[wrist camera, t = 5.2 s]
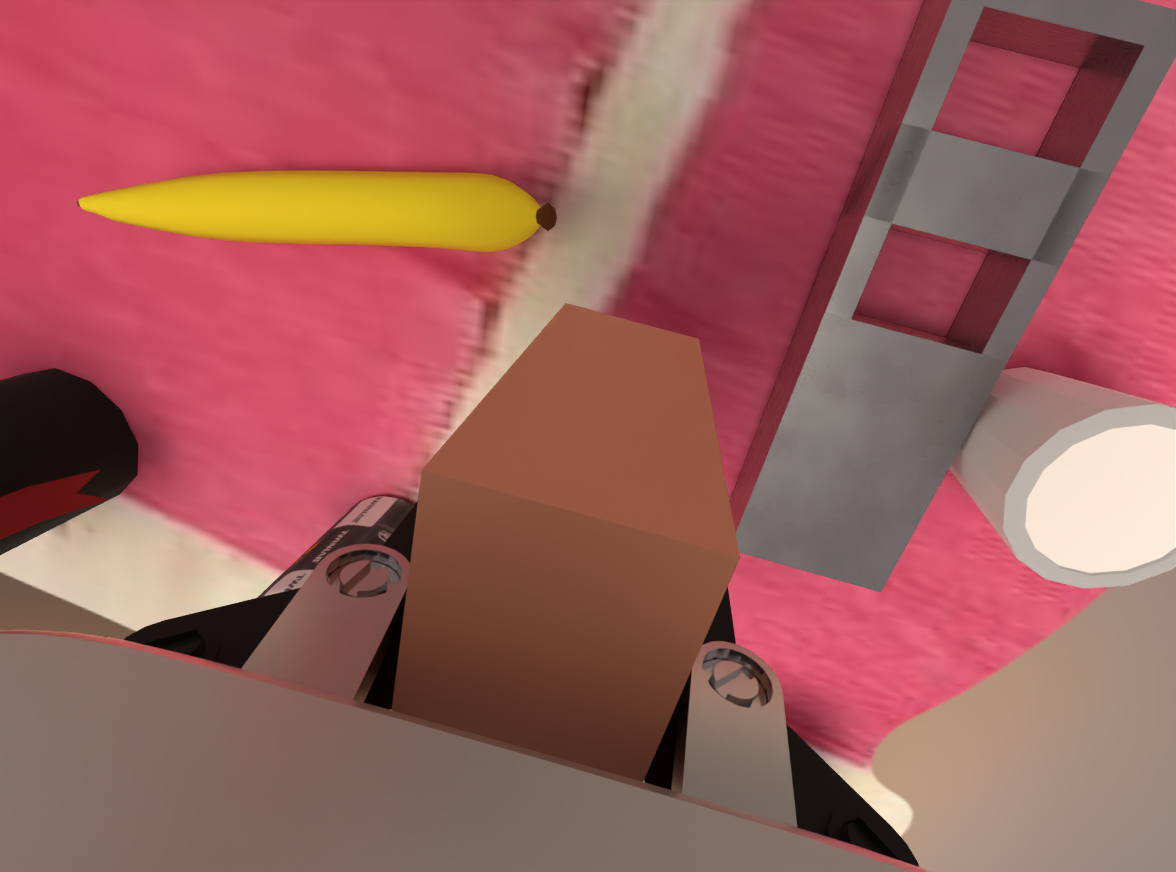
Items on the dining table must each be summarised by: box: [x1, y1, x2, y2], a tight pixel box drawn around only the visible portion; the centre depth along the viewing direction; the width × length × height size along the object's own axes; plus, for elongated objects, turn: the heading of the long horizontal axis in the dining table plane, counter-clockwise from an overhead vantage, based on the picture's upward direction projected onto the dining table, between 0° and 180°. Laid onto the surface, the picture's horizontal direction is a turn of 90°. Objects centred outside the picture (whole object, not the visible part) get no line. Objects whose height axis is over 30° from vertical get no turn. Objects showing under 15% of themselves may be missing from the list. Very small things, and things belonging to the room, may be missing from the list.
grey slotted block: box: [730, 0, 1176, 592], centre depth 23 cm, size 22×7×3 cm, turn 166°
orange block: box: [392, 303, 740, 782], centre depth 11 cm, size 8×3×8 cm, turn 166°
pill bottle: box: [257, 496, 414, 598], centre depth 27 cm, size 6×6×11 cm
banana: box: [77, 170, 557, 252], centre depth 23 cm, size 3×19×6 cm, turn 89°
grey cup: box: [949, 367, 1176, 588], centre depth 22 cm, size 7×7×7 cm
